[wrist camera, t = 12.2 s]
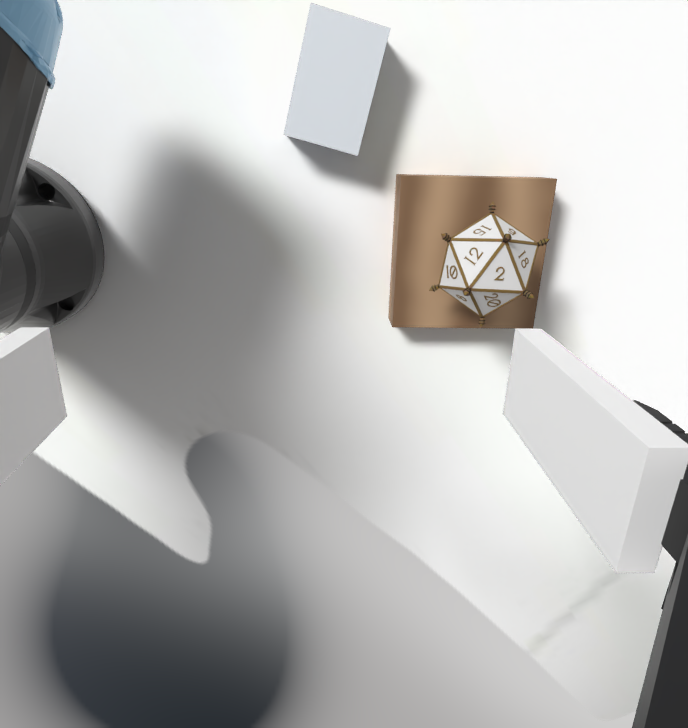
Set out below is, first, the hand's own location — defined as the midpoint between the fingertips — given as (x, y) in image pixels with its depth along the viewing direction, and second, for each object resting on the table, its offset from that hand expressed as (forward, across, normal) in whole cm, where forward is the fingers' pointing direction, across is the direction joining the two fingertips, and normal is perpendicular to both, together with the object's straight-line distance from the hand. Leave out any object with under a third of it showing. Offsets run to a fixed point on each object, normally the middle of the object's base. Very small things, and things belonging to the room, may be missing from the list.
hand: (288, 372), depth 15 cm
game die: (+32, +14, -2) cm, 35 cm away
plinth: (+34, +14, -2) cm, 37 cm away
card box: (+35, +2, +11) cm, 37 cm away
